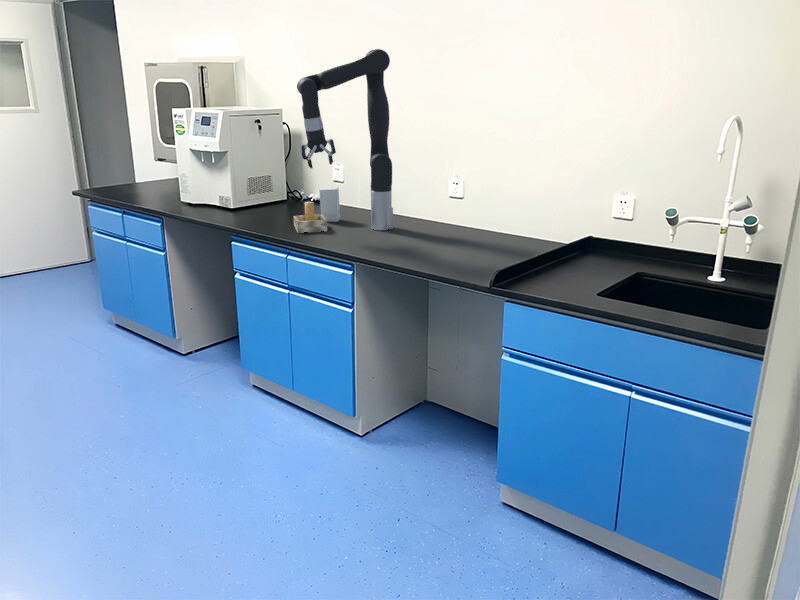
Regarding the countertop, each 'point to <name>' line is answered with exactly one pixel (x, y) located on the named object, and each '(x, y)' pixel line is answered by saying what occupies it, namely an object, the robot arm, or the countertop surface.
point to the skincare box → (330, 203)
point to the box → (310, 224)
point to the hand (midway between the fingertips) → (321, 166)
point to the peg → (309, 211)
